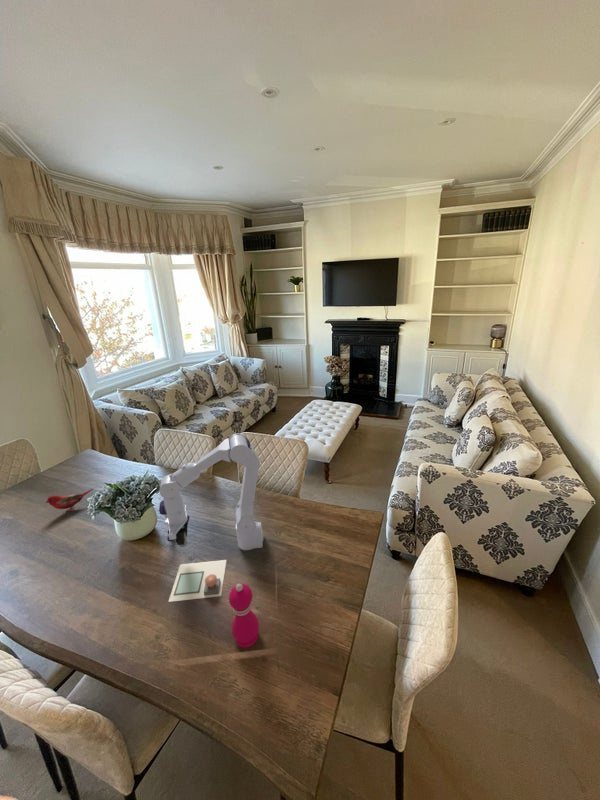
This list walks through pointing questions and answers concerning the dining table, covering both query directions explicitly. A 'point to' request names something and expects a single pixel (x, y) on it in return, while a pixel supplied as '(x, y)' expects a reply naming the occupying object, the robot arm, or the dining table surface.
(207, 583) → the button
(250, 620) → the pepper mill
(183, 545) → the salt shaker
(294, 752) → the dining table surface
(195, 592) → the board
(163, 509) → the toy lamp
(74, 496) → the decorative bird figurine
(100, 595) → the dining table surface
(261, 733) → the dining table surface
